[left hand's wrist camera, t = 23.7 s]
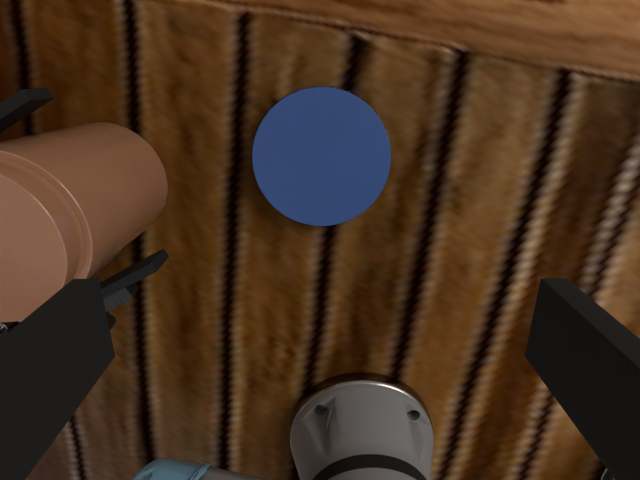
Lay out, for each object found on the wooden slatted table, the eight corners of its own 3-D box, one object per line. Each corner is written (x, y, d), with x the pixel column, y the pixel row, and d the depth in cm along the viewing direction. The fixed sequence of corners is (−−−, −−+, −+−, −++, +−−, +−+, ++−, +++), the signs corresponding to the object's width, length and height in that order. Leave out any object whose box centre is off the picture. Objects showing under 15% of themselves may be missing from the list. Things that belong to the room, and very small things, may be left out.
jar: (27, 164, 37) (-162, 222, 22) (113, 97, 35) (-33, 114, 20) (107, 253, 40) (-12, 355, 25) (191, 197, 38) (112, 273, 23)
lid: (345, 239, 39) (347, 248, 37) (233, 180, 37) (228, 187, 35) (413, 129, 35) (419, 133, 33) (293, 58, 33) (291, 56, 31)
